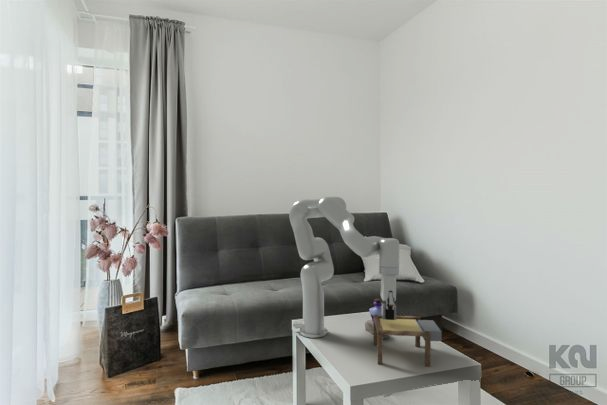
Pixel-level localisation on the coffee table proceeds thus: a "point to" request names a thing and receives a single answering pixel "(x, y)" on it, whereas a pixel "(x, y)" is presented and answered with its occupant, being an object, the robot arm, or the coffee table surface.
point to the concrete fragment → (370, 328)
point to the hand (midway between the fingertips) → (388, 316)
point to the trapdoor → (413, 327)
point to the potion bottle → (376, 308)
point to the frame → (379, 332)
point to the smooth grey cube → (384, 311)
